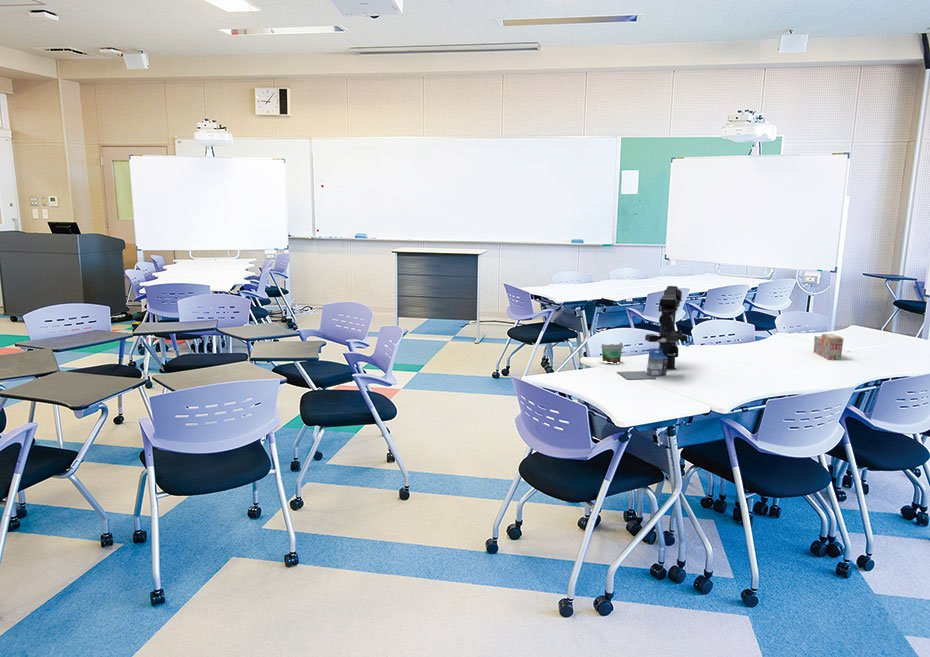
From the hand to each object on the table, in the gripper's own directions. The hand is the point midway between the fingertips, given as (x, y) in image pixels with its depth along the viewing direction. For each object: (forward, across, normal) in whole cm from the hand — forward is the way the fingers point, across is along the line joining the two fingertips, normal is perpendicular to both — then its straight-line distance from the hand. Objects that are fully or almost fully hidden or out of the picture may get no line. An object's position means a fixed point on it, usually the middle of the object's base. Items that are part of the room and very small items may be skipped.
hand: (665, 355), depth 305 cm
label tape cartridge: (+9, -4, 0) cm, 10 cm away
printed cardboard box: (+10, +107, +33) cm, 113 cm away
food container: (+10, -15, +27) cm, 33 cm away
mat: (+10, -14, 0) cm, 17 cm away
